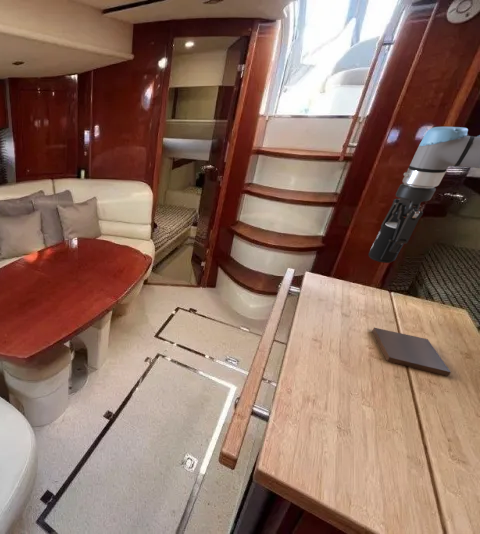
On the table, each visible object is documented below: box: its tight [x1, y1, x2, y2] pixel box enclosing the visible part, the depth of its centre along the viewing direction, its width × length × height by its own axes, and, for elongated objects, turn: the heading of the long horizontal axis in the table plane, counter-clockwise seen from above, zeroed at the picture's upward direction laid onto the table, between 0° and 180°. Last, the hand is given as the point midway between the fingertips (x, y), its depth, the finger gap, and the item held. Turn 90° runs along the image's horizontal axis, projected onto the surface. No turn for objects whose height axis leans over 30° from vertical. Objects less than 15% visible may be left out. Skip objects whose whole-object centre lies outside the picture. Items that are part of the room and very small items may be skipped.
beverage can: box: [367, 222, 405, 264], centre depth 98 cm, size 7×7×12 cm
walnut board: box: [371, 327, 452, 377], centre depth 84 cm, size 12×13×2 cm
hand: (382, 255), depth 100 cm, fingers closed on beverage can, 6 cm apart
